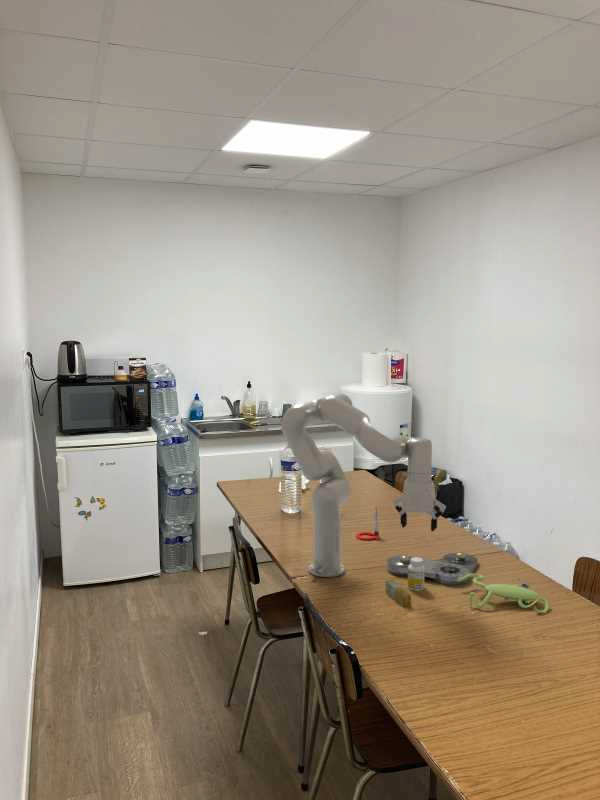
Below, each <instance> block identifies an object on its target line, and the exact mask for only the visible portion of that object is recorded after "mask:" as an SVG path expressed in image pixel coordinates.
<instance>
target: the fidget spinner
mask: <svg viewBox="0 0 600 800" xmlns="http://www.w3.org/2000/svg"><path fill="white" fill-rule="evenodd" d="M439 562H445V563H451V564H457V565H461V566H463V567H465V568H467V570H468V571H469V574H470V573H474V572H473V571H475V570H476V569H477V567H478V565H477V564H478V563H479V560H478V558H477V557H476V556H475V555H472V554H468V553H465V552H462V551H457V552H451V553H447V554H445V555H444V556H443V557H442V559H440V561H439ZM476 566H477V567H476ZM475 568H476V569H475ZM474 569H475V570H474ZM442 572H445V573H450V574H456V573H458V572H455V571H451V570H444V571H442ZM470 578H471V577H469V578H467V579H465V580H463V581H459V582H458V581H447V580H441V579H439V578H437V577H436V578H431V579H432V580H433V581H434V582H435V583H438V584H441V585H445V584H446V585H445V586H461V584H462V585H465V584H467V583H468V581H469V580H470ZM468 579H469V580H468ZM464 583H465V584H464Z"/></svg>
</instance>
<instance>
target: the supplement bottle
mask: <svg viewBox="0 0 600 800" xmlns="http://www.w3.org/2000/svg"><path fill="white" fill-rule="evenodd" d="M413 557H414V558H411V561H410V562H411V564H410V565H409V566H408V577H407V588H408V589H409V590H410V591H414V590H415V592H420V591H423V590H424V589H425V567H424V566H423V565H422V564H423V559H424V558H422V559H421V557H415V556H413Z"/></svg>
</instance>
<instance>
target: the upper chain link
mask: <svg viewBox="0 0 600 800" xmlns="http://www.w3.org/2000/svg"><path fill="white" fill-rule="evenodd" d="M414 557H415V556H410V555H407V554H400V555H395V556H391V557H389V558H388V559H387V565H386V570H387V572H388V573H390V574H391V575H394V576H397V577H404V578H405V577H406V578H408V566H409V565H410V564H411V562H410V561H411V558H414ZM420 558H421V557H420ZM421 559H423V564H422V565H423V566H424V567H425V577H426V578H431V579H432V578H436V577H437V578H439V579H441V580H447V581H458V578H461V577H464V576H466V575H467V574H469V571H468V570H467V568H465V567H463V566H461V565H457V564H451V563H445V562H440V561H439V560H432V559H428V558H427V559H426V558H421ZM444 570H451V571H455V572H458V573H456V574H450V573H445V572H442V571H444ZM425 577H424V578H425Z"/></svg>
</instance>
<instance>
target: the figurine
mask: <svg viewBox="0 0 600 800" xmlns="http://www.w3.org/2000/svg"><path fill="white" fill-rule="evenodd" d="M469 577H470V578H473V579H472V582H473V584H474V585H475V586H477V587H480V588H483V589H484V590H485V591H487V595H486V596H485V598H484V599H483V600H482V601H481V602H480V603H479V602H478V601H477V595H476V593H475V592H474V591H473V592H470V593H469V599H468V600H469V604H470V610H473V604H472V603H473V600H472V599H473V597H474V603H475V606H476V607H477V608H478V609H480V608H481V609H482V608H483V607H484V606H486V604H487V603H488V602H489V600H490V599H491V597H492V595H495V596H498V597H501V598H502V601H503V602H506V601H508V600H510V599H512V600H517V604H518V605H519V607H520V608H522V609H527V608H531V607H532V606H533V605H534V604H535V603H537V602H538V601H541V602H543V603H544V607H545V608H544V609H542V610H540V609H538V608H537V607H536V606H534V607H533V611H535V612H536V614H539V613H544V612H547V611H548V610H550V603H549V601H548V600H547V599H546V598H544V597H540V595H539V594H538V592H536V591H534V590H532V589H531V585H529V584H525V583H522V584H520V583H519V584H517V583H515V584H506V583H495V584H493V583H492V584H485V583H482V582H479V581H484V579H485V577H484V576H483V575H482V574H479V573H474V572H473V573H470V574H467V575H466V576H464V577H461V578H458V582H459V581H463V580H465V579H467V578H469ZM470 578H469V579H470ZM539 597H540V598H539ZM533 600H535V601H533ZM522 601H524V602H525V604H527V603H528V604H527V605H525V604H524V603H523V602H522ZM531 601H533V602H532V603H531ZM530 603H531V604H530ZM548 612H549V611H548ZM548 612H547V613H548Z"/></svg>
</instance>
